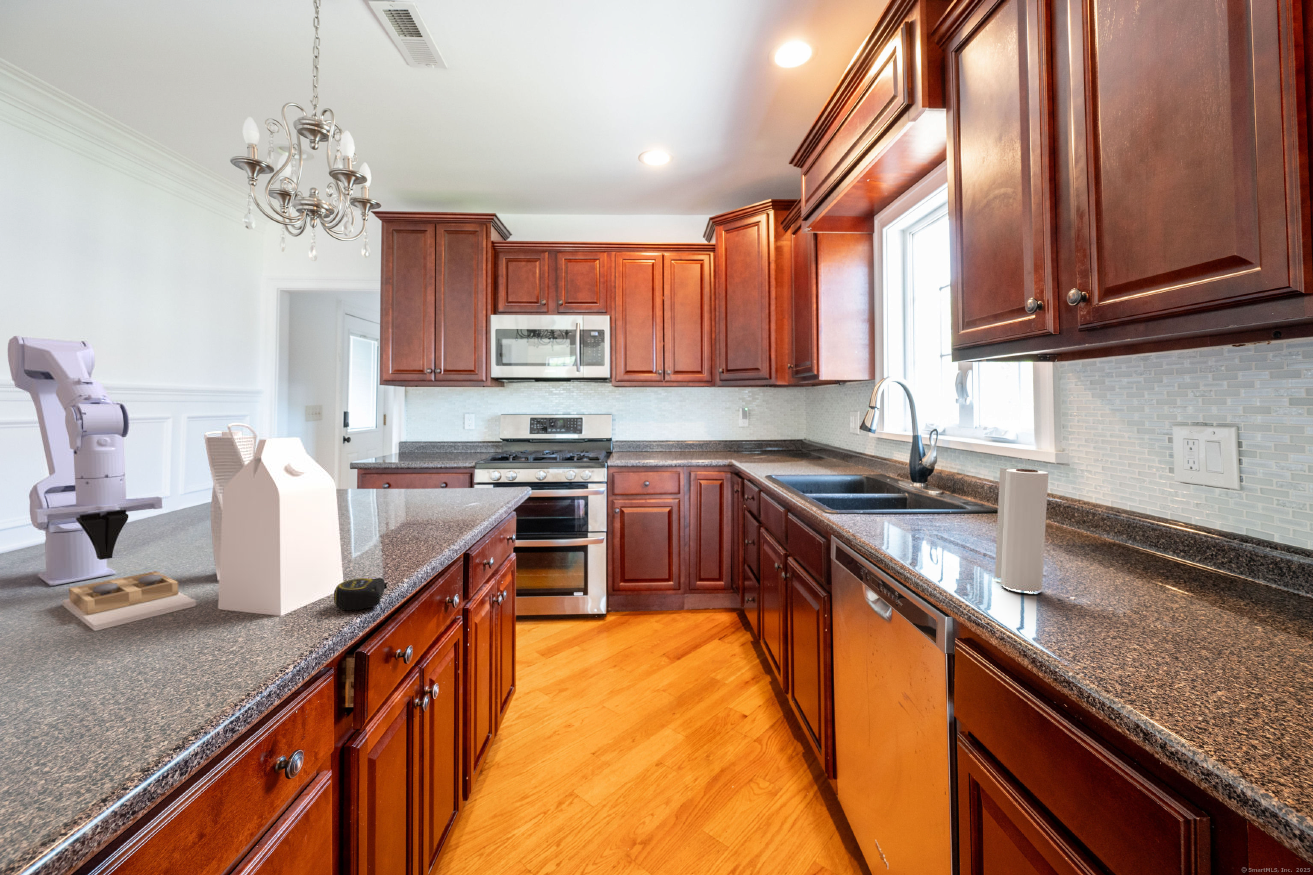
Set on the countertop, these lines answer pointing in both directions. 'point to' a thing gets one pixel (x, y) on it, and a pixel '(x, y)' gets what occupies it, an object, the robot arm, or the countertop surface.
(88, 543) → the robot arm
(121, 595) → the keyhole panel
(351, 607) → the tape measure
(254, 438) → the skyscraper
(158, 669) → the countertop surface
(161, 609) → the mounting plate
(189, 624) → the countertop surface
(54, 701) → the countertop surface
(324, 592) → the milk
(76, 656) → the countertop surface
